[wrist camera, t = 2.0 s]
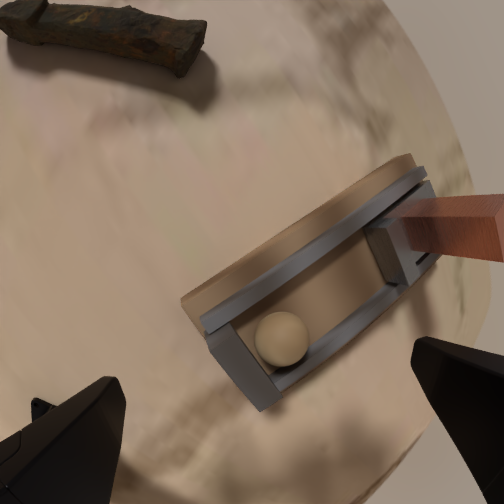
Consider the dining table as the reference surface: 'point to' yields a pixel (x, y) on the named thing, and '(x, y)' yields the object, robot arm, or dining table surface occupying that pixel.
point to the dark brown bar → (107, 31)
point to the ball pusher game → (305, 285)
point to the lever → (435, 230)
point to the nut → (281, 339)
